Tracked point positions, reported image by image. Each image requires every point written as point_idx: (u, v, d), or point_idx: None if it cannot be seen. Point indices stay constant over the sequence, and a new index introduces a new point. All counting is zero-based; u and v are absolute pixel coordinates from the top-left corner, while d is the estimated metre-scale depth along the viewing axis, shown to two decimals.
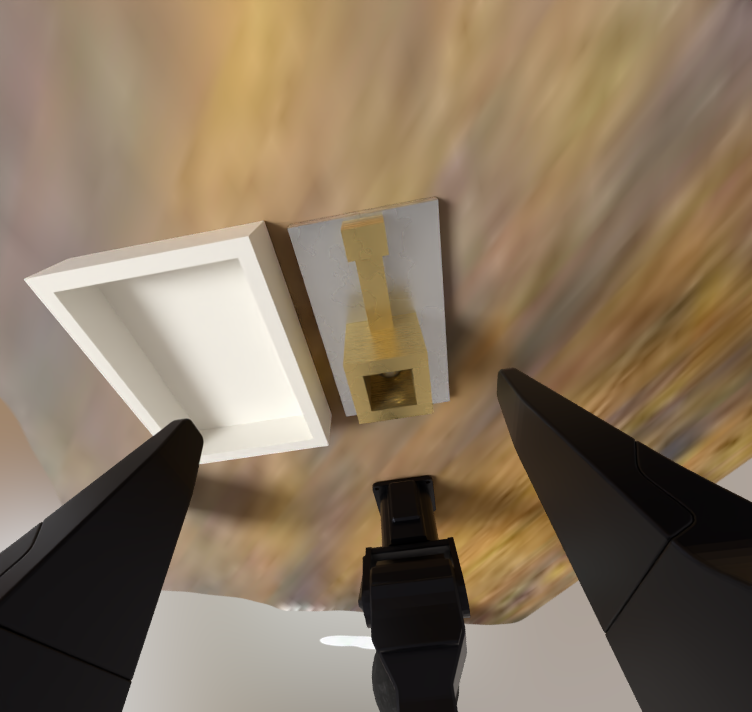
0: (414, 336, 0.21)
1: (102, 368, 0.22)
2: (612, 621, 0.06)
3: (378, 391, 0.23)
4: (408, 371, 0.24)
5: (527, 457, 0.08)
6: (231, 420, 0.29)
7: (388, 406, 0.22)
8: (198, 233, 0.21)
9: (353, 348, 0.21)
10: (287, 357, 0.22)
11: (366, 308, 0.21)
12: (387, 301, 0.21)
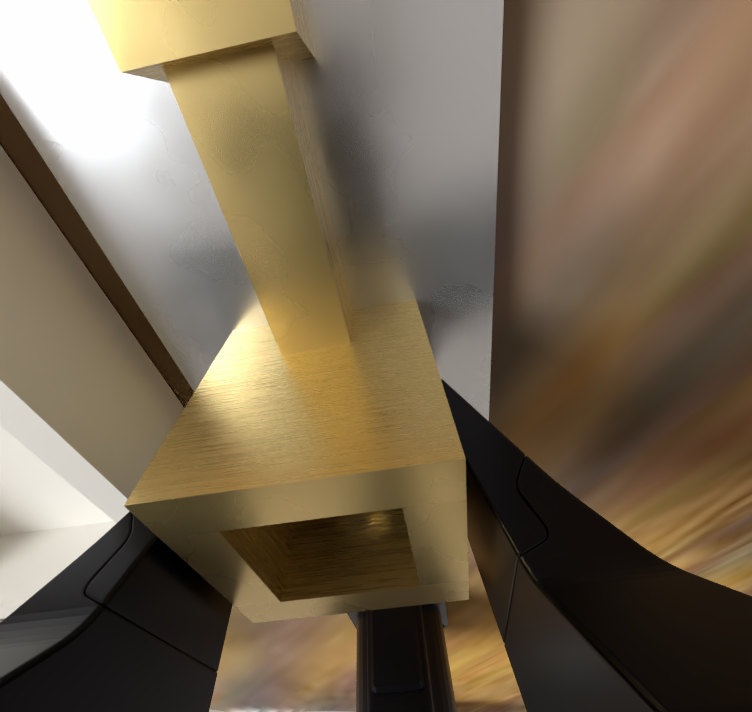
0: (411, 377, 0.06)
1: None
2: (505, 632, 0.06)
3: None
4: None
5: None
6: (48, 521, 0.15)
7: (332, 584, 0.07)
8: None
9: (206, 417, 0.06)
10: (34, 432, 0.07)
11: (256, 284, 0.07)
12: (322, 260, 0.06)
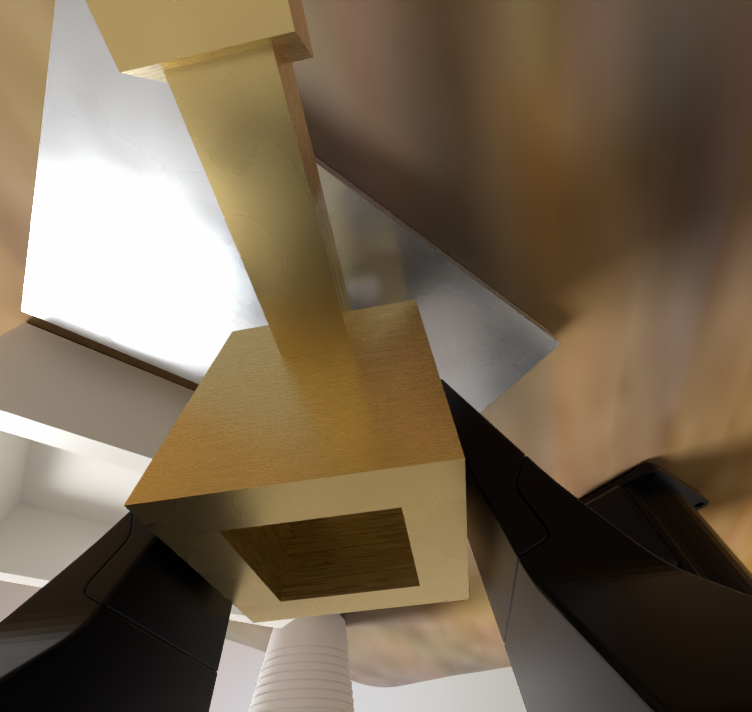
0: (411, 377, 0.06)
1: None
2: (505, 632, 0.06)
3: None
4: None
5: None
6: None
7: (332, 584, 0.07)
8: None
9: (206, 417, 0.06)
10: None
11: (256, 284, 0.07)
12: (321, 260, 0.06)
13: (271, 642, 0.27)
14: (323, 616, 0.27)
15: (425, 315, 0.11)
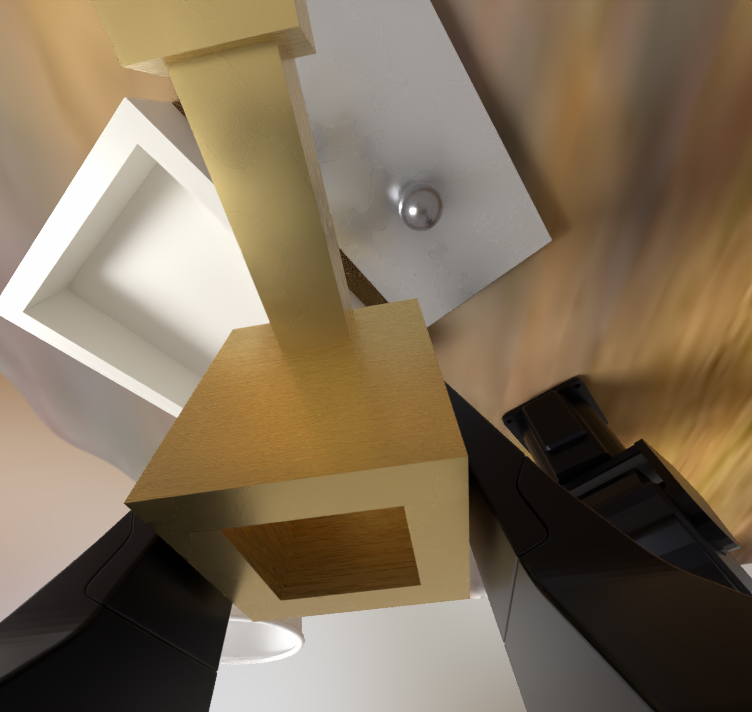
0: (413, 375, 0.06)
1: (123, 382, 0.19)
2: (505, 632, 0.06)
3: None
4: None
5: None
6: None
7: (332, 583, 0.07)
8: None
9: (206, 415, 0.06)
10: None
11: (257, 281, 0.07)
12: (323, 257, 0.06)
13: None
14: None
15: (476, 187, 0.16)
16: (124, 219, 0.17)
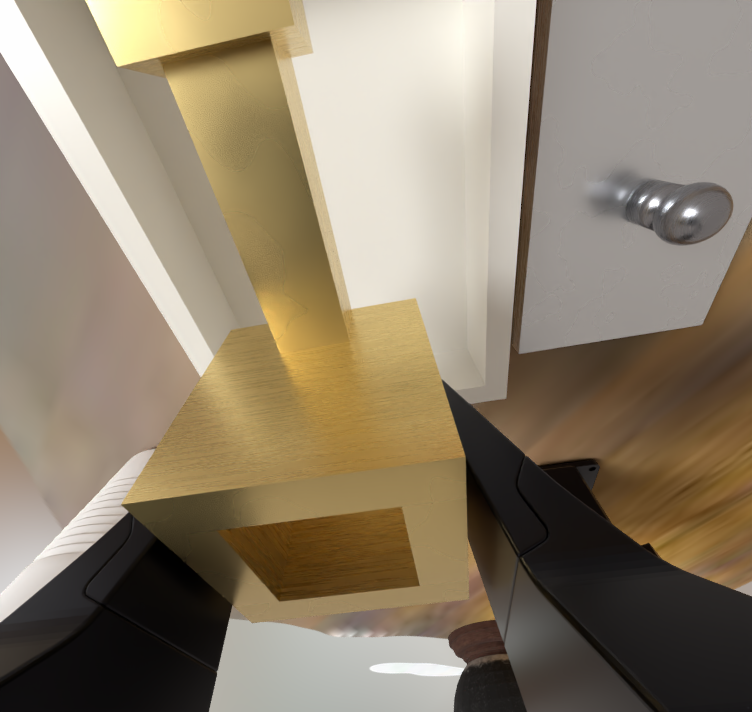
0: (411, 375, 0.06)
1: (108, 210, 0.10)
2: (505, 632, 0.06)
3: None
4: None
5: None
6: None
7: (330, 584, 0.07)
8: None
9: (204, 416, 0.06)
10: (506, 186, 0.10)
11: (255, 281, 0.07)
12: (321, 257, 0.06)
13: (134, 469, 0.20)
14: None
15: None
16: None
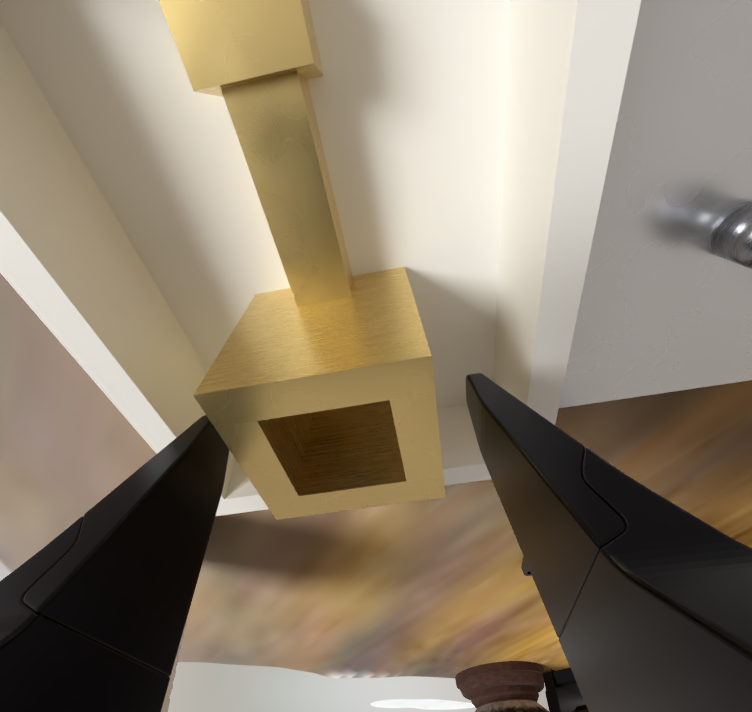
0: (397, 314, 0.08)
1: None
2: (562, 626, 0.06)
3: (323, 440, 0.11)
4: None
5: (490, 462, 0.08)
6: None
7: (338, 483, 0.09)
8: None
9: (243, 346, 0.08)
10: (574, 218, 0.07)
11: (279, 247, 0.09)
12: (329, 228, 0.08)
13: None
14: None
15: None
16: None
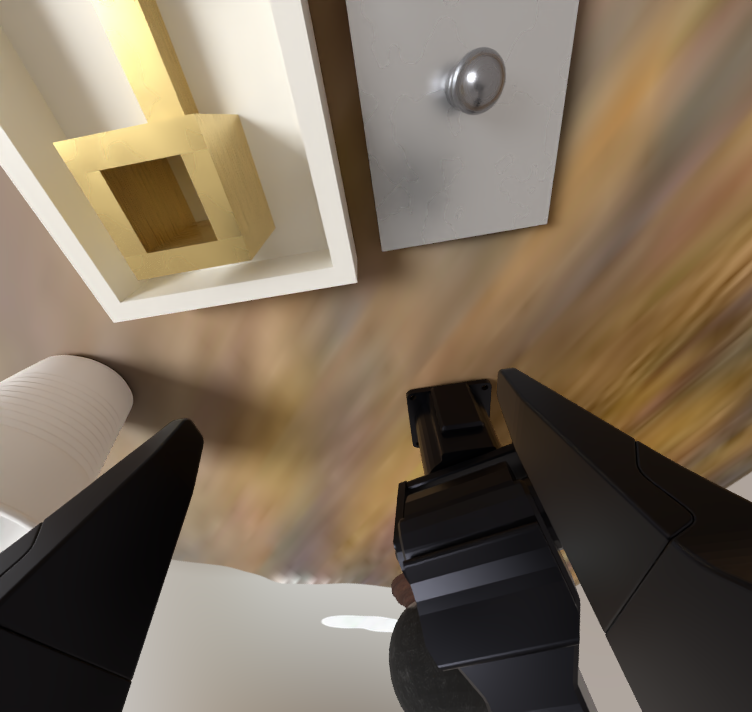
0: None
1: None
2: (612, 622, 0.06)
3: (179, 237, 0.15)
4: None
5: (527, 457, 0.08)
6: None
7: (175, 247, 0.14)
8: None
9: None
10: (294, 40, 0.11)
11: (128, 76, 0.13)
12: (159, 60, 0.13)
13: (31, 367, 0.21)
14: (120, 382, 0.23)
15: (521, 119, 0.15)
16: None
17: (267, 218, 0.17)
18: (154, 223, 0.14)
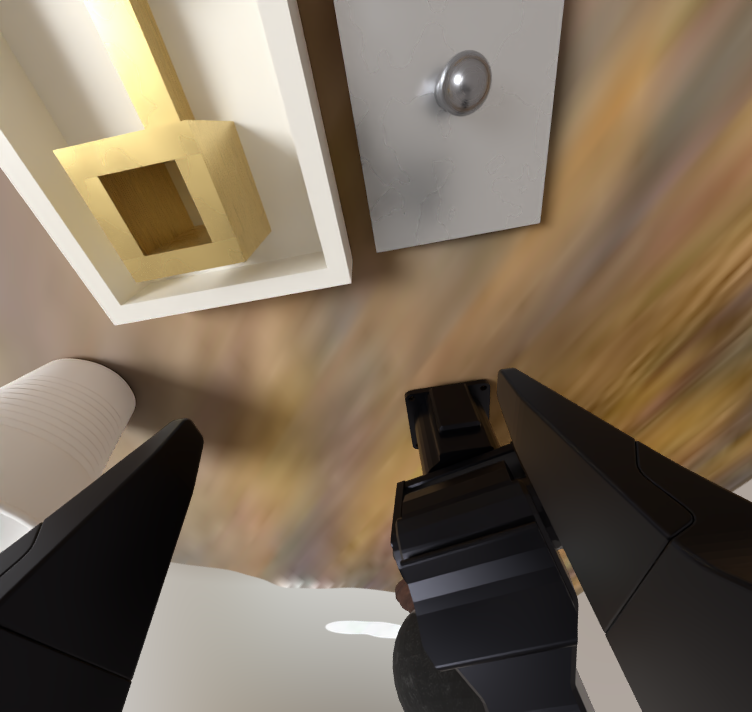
0: None
1: None
2: (611, 621, 0.06)
3: (176, 241, 0.15)
4: None
5: (527, 457, 0.08)
6: None
7: (171, 249, 0.14)
8: None
9: None
10: (284, 48, 0.12)
11: (126, 86, 0.13)
12: (155, 70, 0.13)
13: (36, 370, 0.21)
14: (122, 384, 0.24)
15: (510, 120, 0.15)
16: None
17: (263, 222, 0.17)
18: (152, 227, 0.15)
